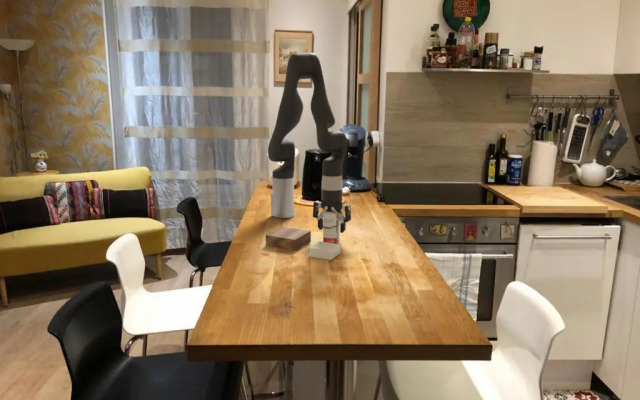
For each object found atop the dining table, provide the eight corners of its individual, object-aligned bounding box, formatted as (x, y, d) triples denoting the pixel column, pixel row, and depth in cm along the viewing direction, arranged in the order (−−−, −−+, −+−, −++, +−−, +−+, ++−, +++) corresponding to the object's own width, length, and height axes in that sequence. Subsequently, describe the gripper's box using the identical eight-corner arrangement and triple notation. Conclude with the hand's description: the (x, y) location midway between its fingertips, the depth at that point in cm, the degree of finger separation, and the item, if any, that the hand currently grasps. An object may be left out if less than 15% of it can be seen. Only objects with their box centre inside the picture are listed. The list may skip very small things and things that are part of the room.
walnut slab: (265, 245, 185) (265, 235, 184) (282, 236, 195) (282, 226, 194) (295, 250, 180) (295, 239, 179) (310, 241, 190) (310, 230, 189)
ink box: (335, 245, 185) (336, 214, 183) (322, 245, 186) (322, 213, 184) (339, 238, 194) (340, 208, 191) (327, 238, 195) (327, 207, 192)
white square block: (309, 256, 174) (309, 247, 173) (319, 249, 181) (319, 241, 180) (330, 259, 171) (330, 251, 170) (340, 252, 178) (340, 244, 177)
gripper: (309, 187, 185) (309, 230, 189) (346, 191, 179) (345, 236, 183) (318, 183, 192) (318, 225, 195) (354, 187, 186) (353, 230, 189)
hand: (331, 230), depth 189 cm, fingers open, 8 cm apart
